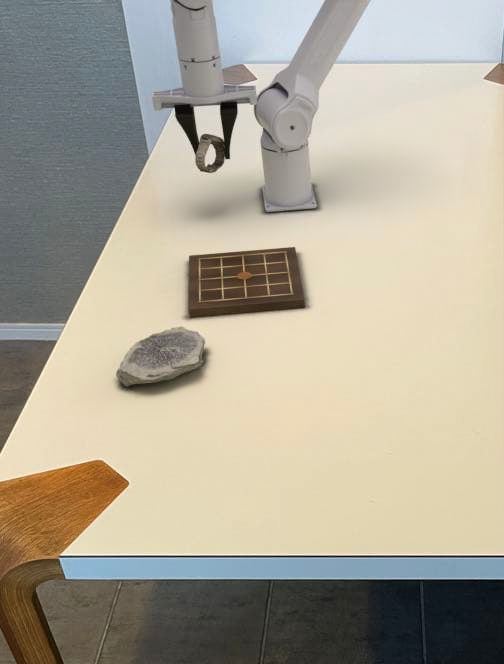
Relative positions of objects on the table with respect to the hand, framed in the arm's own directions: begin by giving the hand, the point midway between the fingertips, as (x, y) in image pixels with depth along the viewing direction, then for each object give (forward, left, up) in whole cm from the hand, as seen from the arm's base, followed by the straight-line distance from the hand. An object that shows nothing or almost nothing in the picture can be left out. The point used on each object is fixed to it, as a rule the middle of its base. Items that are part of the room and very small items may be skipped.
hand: (213, 157), depth 127 cm
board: (+23, +3, -8) cm, 25 cm away
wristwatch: (+1, -1, -2) cm, 2 cm away
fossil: (+42, -7, -9) cm, 44 cm away
